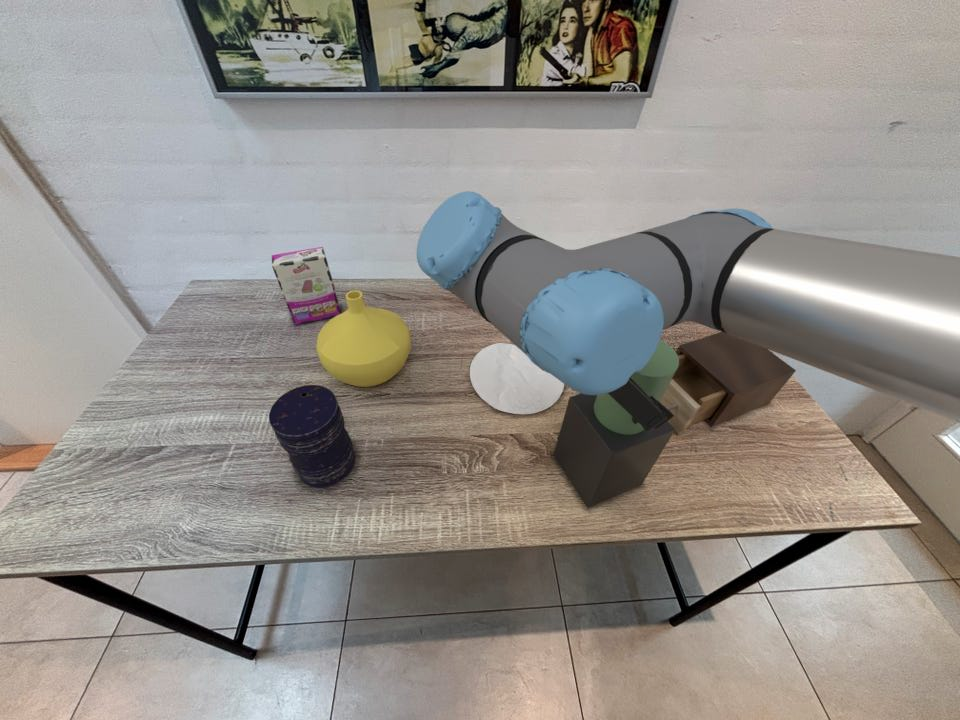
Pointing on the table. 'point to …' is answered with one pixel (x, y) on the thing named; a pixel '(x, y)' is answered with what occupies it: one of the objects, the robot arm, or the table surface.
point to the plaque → (513, 380)
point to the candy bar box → (306, 285)
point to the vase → (363, 344)
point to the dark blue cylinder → (313, 435)
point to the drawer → (691, 395)
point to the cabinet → (738, 372)
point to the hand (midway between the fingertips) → (632, 381)
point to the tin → (650, 380)
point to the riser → (604, 453)
